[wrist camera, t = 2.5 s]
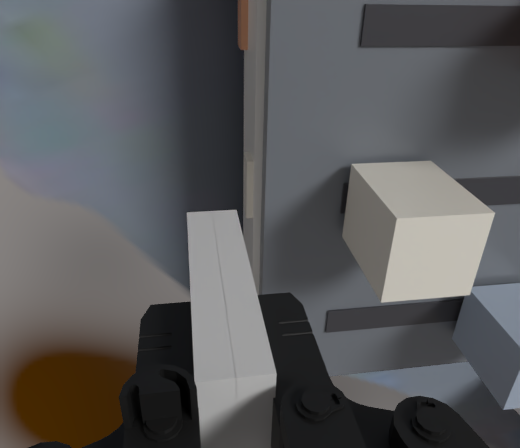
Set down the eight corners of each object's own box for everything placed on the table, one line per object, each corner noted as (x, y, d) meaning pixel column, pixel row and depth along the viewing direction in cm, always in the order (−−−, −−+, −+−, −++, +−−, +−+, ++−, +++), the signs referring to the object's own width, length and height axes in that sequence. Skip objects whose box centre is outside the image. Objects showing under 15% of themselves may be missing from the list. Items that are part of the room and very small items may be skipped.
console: (234, -100, 17) (255, -120, 12) (619, -84, 19) (753, -96, 14) (236, 314, 26) (248, 386, 22) (492, 292, 28) (550, 354, 24)
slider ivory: (351, 163, 17) (397, 218, 13) (430, 160, 17) (495, 212, 14) (341, 236, 18) (380, 302, 15) (415, 231, 18) (469, 295, 15)
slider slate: (467, 287, 20) (526, 354, 17) (529, 282, 21) (599, 346, 17) (451, 338, 22) (503, 410, 18) (510, 332, 22) (570, 401, 19)
